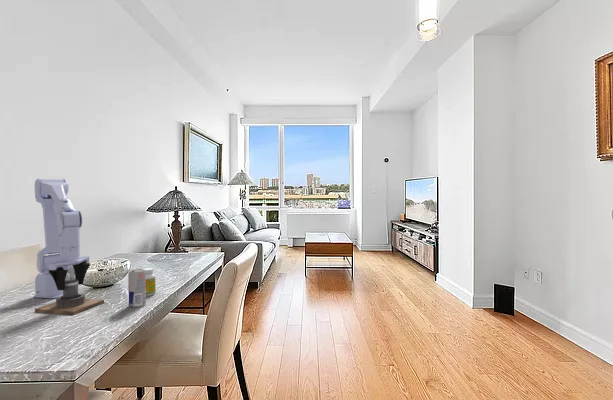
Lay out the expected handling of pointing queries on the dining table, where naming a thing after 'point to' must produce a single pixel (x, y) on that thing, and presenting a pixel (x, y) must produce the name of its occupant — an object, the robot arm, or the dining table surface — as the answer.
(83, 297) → the mount
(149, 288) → the supplement bottle
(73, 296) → the lens
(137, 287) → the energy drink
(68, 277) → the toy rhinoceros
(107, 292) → the dining table surface
